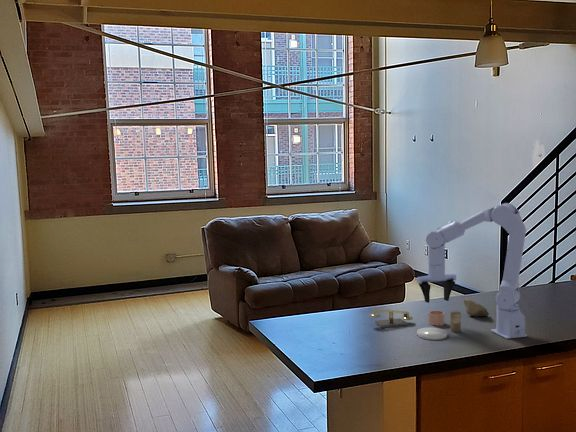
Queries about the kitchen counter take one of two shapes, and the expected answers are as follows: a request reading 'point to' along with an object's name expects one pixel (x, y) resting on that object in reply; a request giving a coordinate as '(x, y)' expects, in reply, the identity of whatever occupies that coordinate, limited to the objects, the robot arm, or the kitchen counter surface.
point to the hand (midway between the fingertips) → (436, 301)
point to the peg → (455, 321)
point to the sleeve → (437, 318)
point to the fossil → (475, 308)
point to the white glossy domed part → (432, 333)
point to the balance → (391, 318)
